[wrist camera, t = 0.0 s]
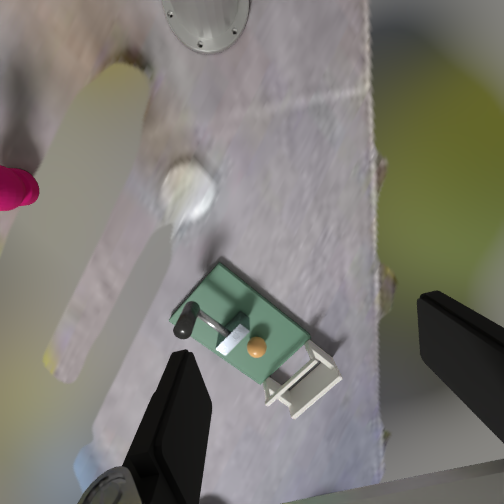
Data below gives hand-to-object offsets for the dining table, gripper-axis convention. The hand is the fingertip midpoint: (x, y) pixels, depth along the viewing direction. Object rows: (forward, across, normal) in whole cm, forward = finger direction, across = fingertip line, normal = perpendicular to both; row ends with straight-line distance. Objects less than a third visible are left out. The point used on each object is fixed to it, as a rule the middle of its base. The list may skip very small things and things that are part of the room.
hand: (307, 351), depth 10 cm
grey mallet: (+35, +13, +16) cm, 41 cm away
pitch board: (+37, +9, +21) cm, 44 cm away
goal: (+37, 0, +35) cm, 51 cm away
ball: (+34, +7, +25) cm, 43 cm away
